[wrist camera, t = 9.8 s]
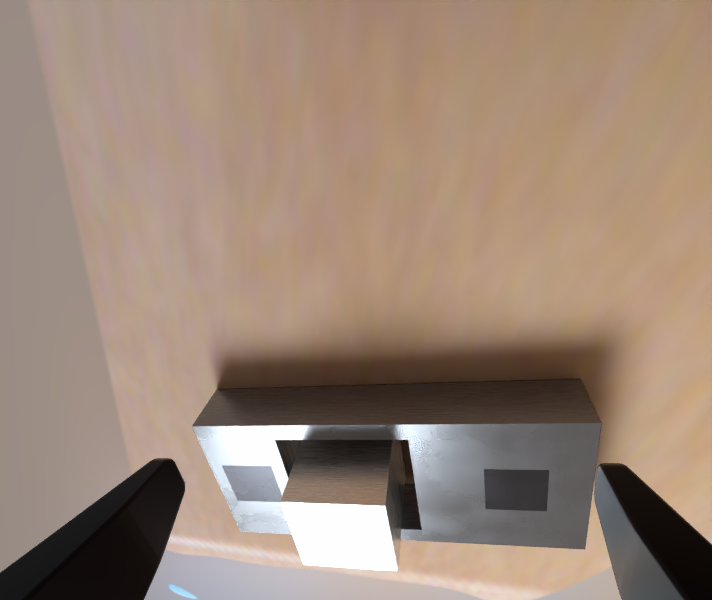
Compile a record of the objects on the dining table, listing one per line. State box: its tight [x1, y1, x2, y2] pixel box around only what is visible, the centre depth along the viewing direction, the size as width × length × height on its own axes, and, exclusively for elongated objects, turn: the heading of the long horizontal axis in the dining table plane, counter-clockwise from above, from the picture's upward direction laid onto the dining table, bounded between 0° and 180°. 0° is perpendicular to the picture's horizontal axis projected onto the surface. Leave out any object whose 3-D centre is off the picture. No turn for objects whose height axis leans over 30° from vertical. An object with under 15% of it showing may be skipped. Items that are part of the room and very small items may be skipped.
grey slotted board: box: [192, 379, 602, 549], centre depth 24 cm, size 20×9×3 cm, turn 100°
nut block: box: [280, 440, 405, 572], centre depth 23 cm, size 5×5×6 cm
